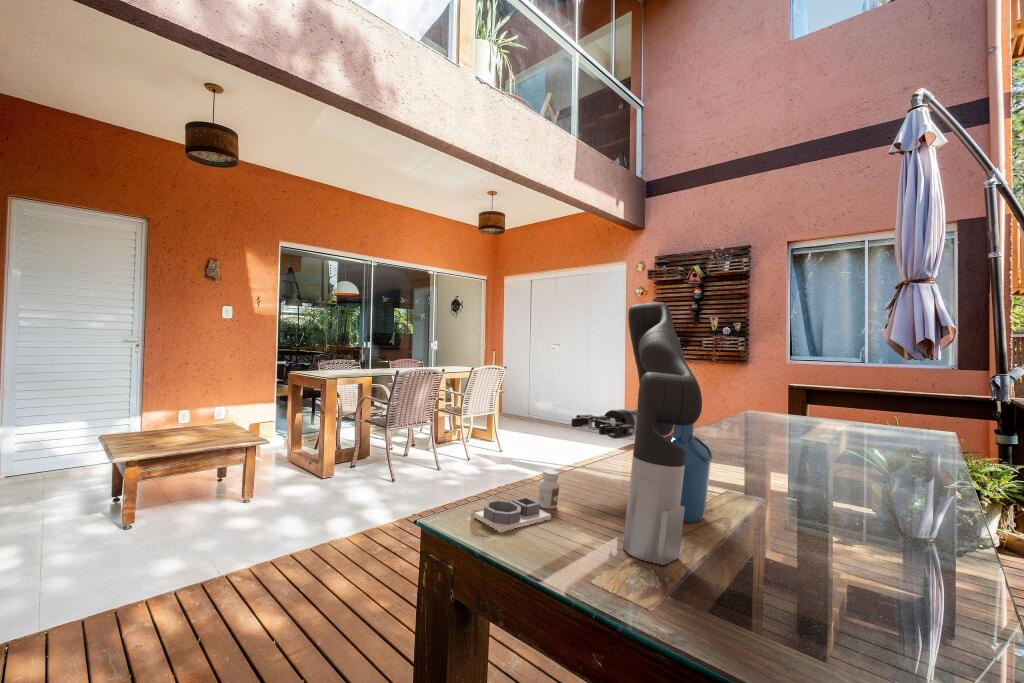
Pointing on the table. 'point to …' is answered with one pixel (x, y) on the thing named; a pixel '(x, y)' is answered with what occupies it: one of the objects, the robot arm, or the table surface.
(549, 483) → the pill bottle
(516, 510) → the socket board
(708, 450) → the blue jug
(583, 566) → the table surface
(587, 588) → the table surface
